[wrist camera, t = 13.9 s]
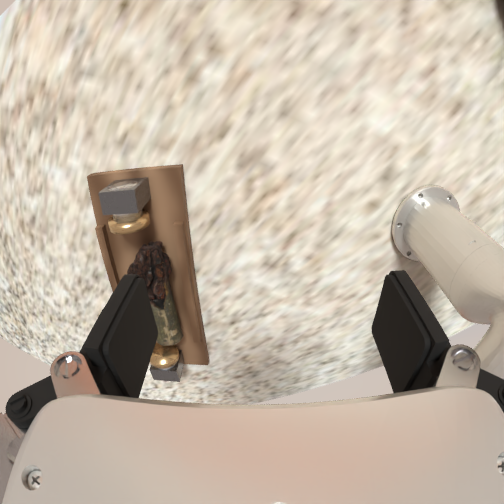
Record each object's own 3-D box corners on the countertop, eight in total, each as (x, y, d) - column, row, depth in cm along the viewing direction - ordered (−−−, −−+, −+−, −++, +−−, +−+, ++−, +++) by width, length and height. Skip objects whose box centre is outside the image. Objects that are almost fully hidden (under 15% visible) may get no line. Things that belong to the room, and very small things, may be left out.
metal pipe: (185, 328, 51) (179, 353, 46) (149, 326, 51) (140, 349, 46) (171, 236, 42) (160, 257, 37) (128, 236, 42) (113, 256, 38)
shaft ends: (150, 176, 38) (134, 190, 33) (185, 360, 55) (180, 384, 50) (113, 180, 38) (94, 194, 33) (158, 358, 55) (151, 381, 50)
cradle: (182, 164, 39) (177, 169, 36) (208, 359, 57) (207, 369, 55) (91, 173, 39) (83, 179, 37) (141, 355, 57) (138, 364, 55)
